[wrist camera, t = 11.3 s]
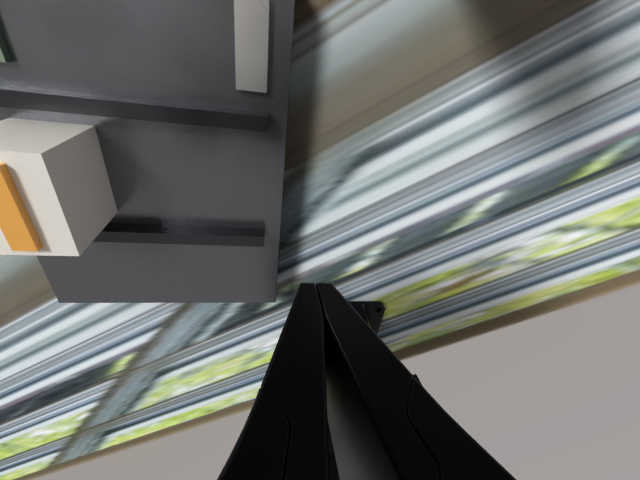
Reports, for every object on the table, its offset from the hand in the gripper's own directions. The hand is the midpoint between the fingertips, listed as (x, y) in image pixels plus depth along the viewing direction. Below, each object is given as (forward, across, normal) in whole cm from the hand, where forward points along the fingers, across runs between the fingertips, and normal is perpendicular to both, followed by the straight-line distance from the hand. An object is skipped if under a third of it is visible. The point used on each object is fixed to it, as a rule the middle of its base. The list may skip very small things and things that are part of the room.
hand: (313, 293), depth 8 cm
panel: (+10, +7, 0) cm, 12 cm away
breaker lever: (+8, +10, 0) cm, 13 cm away
